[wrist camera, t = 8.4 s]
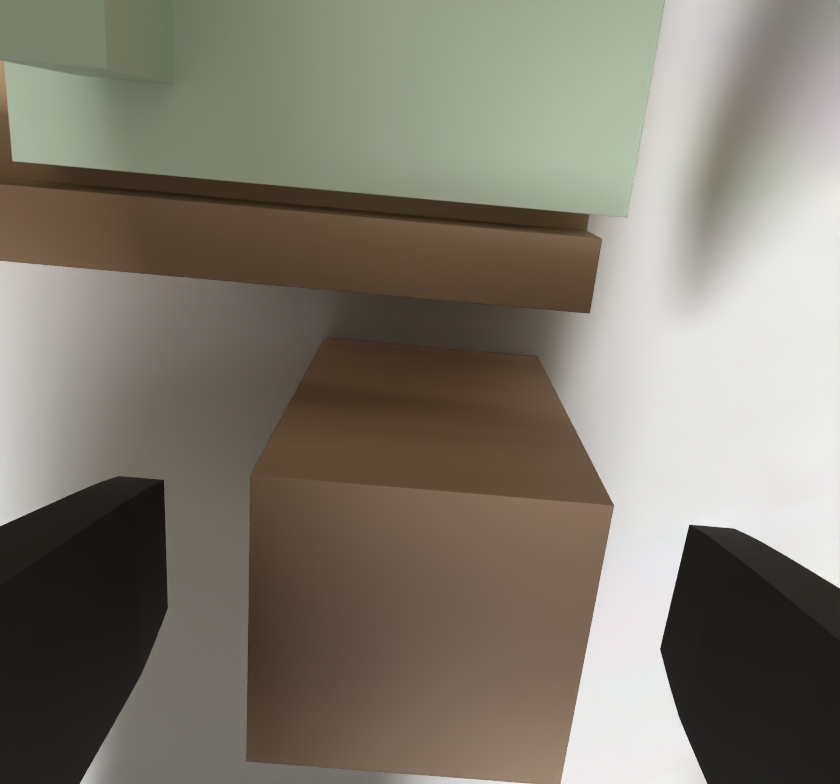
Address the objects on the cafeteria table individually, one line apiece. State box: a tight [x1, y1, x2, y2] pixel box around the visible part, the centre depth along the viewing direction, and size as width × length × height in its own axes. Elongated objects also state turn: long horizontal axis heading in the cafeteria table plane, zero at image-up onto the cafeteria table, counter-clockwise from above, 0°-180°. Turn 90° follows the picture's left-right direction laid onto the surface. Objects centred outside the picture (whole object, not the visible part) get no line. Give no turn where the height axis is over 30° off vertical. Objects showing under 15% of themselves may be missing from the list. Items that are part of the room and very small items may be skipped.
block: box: [246, 338, 614, 784], centre depth 11 cm, size 4×4×6 cm
